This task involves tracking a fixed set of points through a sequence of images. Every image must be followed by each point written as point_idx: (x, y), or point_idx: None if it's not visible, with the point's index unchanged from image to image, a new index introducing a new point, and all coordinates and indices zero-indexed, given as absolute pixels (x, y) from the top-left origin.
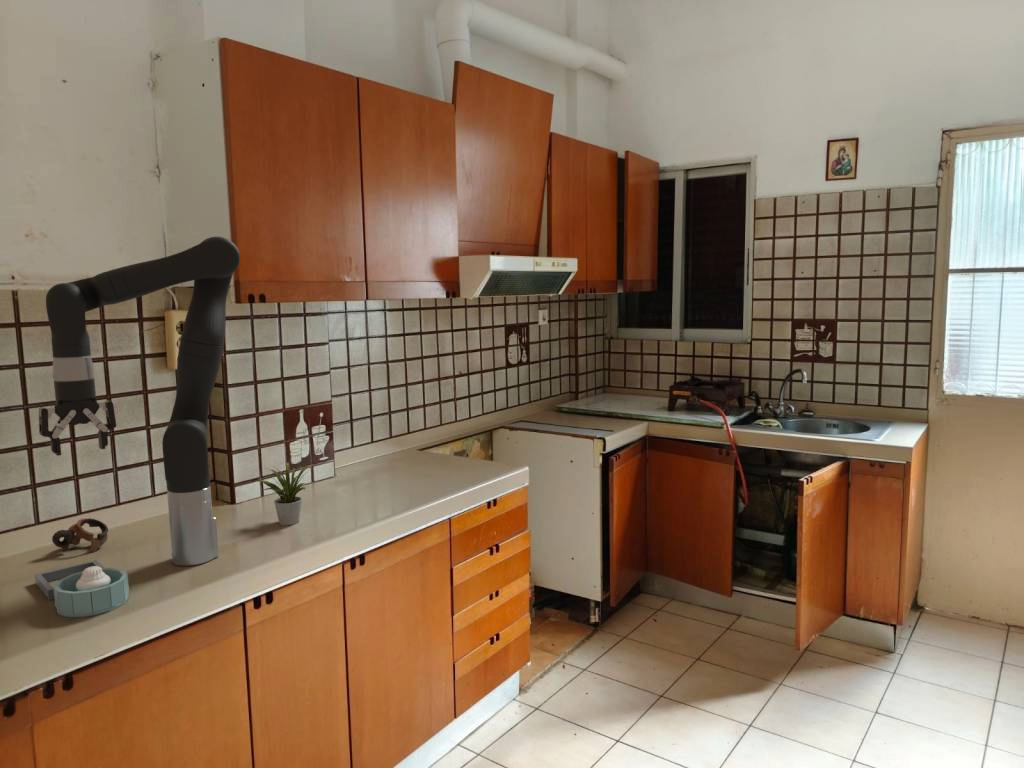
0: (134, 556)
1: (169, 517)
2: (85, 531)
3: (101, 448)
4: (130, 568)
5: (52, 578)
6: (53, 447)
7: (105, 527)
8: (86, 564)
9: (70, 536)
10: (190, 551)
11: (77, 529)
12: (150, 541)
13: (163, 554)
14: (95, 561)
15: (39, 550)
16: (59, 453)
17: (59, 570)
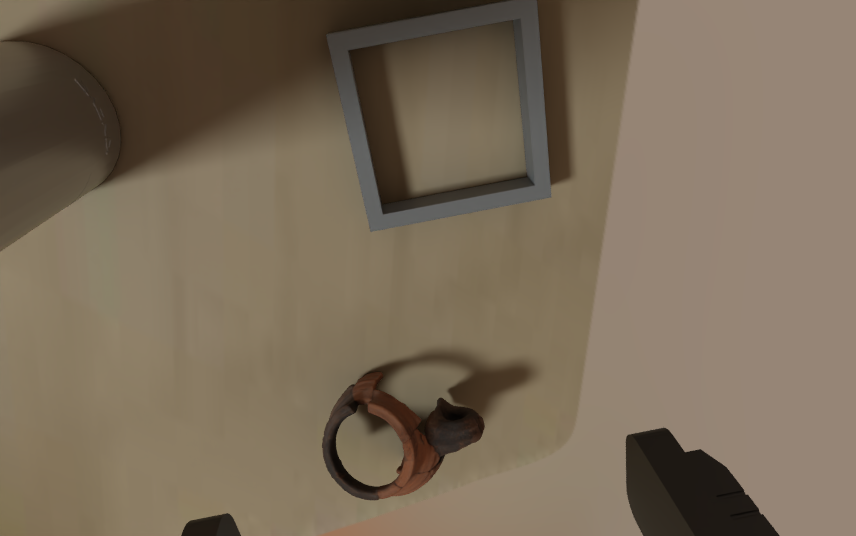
0: (254, 270)
1: (18, 166)
2: (390, 418)
3: (231, 526)
4: (268, 157)
5: (499, 184)
6: (743, 502)
7: (329, 452)
8: (401, 210)
9: (434, 419)
10: (8, 48)
11: (413, 436)
12: (205, 382)
13: (158, 238)
14: (373, 216)
15: (501, 452)
16: (653, 436)
17: (482, 194)
